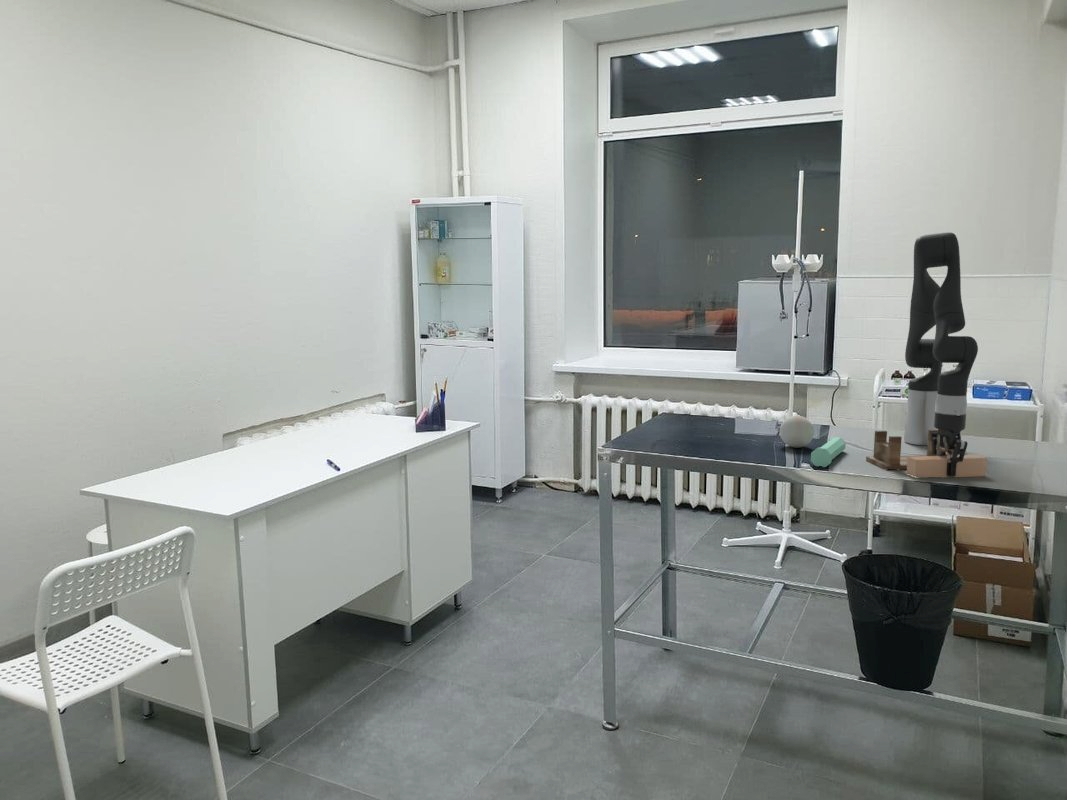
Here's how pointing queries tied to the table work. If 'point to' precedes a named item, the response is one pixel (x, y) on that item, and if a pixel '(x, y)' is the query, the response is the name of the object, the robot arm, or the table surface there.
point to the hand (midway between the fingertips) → (946, 473)
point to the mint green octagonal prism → (827, 452)
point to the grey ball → (796, 431)
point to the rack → (893, 451)
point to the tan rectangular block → (938, 466)
